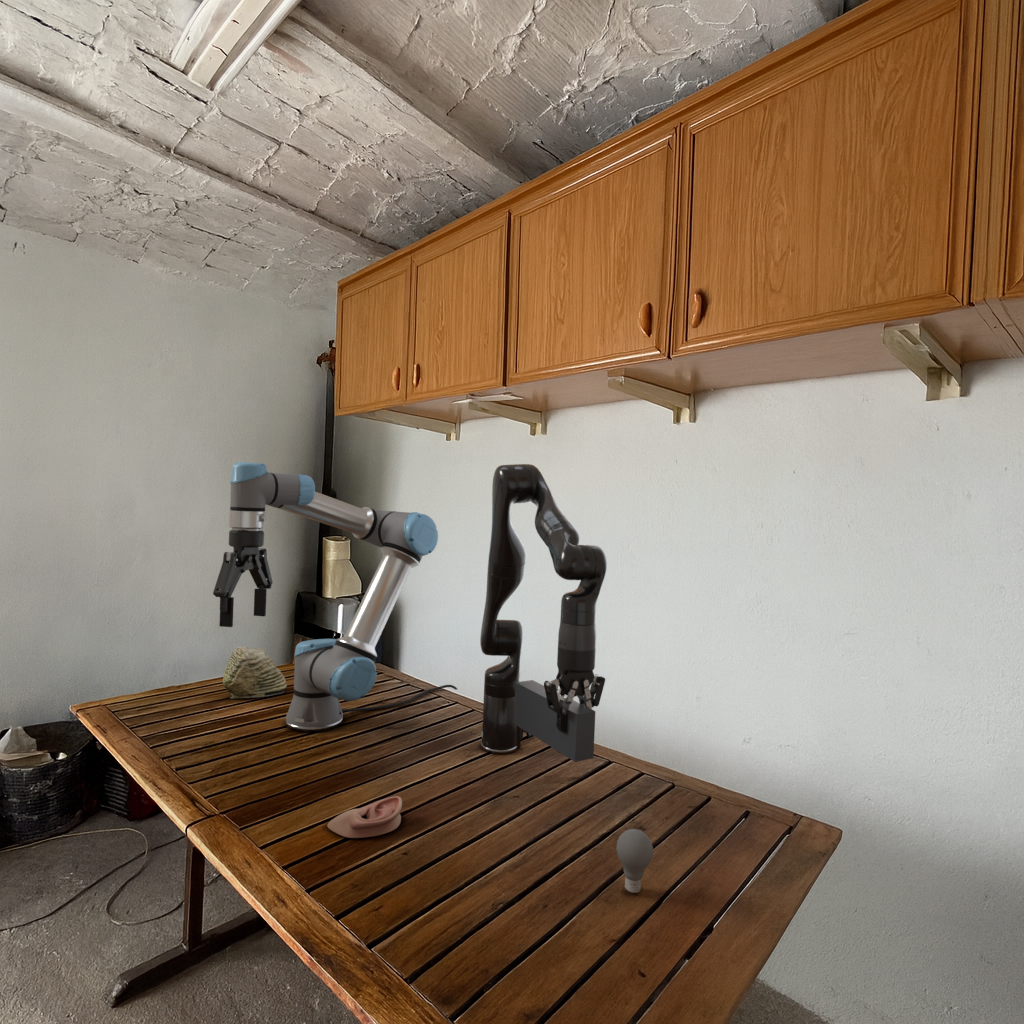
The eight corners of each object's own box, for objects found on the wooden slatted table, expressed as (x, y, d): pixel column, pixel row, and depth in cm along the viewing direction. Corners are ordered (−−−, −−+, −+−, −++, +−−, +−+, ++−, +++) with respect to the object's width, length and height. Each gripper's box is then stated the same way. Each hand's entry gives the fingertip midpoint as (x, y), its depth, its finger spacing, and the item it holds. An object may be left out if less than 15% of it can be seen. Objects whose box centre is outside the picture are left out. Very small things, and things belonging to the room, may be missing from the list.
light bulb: (610, 879, 108) (613, 822, 108) (644, 879, 109) (647, 822, 109) (619, 902, 102) (622, 840, 102) (655, 901, 103) (658, 840, 103)
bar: (513, 723, 142) (515, 682, 141) (530, 720, 144) (532, 679, 144) (574, 762, 122) (577, 714, 122) (593, 758, 124) (595, 711, 124)
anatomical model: (320, 812, 119) (347, 786, 130) (319, 833, 119) (347, 805, 130) (386, 822, 116) (408, 795, 127) (385, 844, 116) (408, 814, 128)
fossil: (218, 695, 195) (220, 647, 195) (278, 685, 208) (279, 640, 207) (228, 703, 189) (230, 653, 188) (289, 692, 201) (290, 645, 201)
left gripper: (229, 532, 133) (226, 632, 134) (289, 528, 158) (285, 612, 158) (197, 530, 134) (193, 630, 135) (261, 526, 159) (258, 610, 160)
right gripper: (558, 652, 119) (554, 742, 120) (616, 646, 127) (612, 730, 127) (536, 643, 126) (532, 728, 126) (593, 638, 133) (589, 718, 133)
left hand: (243, 621), depth 147 cm, fingers open, 13 cm apart
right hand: (572, 729), depth 127 cm, fingers closed on bar, 4 cm apart
